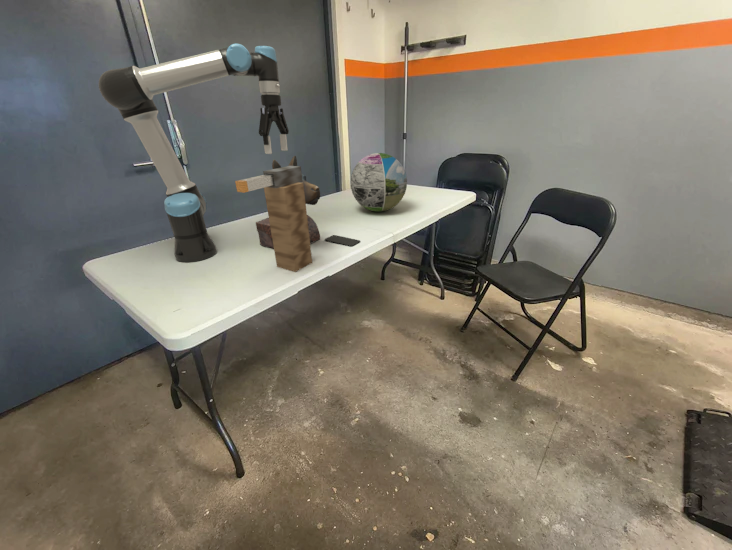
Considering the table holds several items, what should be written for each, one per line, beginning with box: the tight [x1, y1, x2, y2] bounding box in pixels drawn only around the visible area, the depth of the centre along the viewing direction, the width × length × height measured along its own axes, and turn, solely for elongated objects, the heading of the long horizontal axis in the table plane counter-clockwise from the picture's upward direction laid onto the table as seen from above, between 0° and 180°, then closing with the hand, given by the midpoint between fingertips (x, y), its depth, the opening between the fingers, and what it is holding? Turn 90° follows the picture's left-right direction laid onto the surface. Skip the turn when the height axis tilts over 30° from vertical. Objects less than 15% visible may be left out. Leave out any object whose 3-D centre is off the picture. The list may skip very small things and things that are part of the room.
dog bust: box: [255, 155, 321, 249], centre depth 130 cm, size 19×28×35 cm, turn 57°
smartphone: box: [323, 234, 361, 248], centre depth 140 cm, size 7×1×15 cm
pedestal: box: [262, 165, 313, 273], centre depth 113 cm, size 12×9×34 cm
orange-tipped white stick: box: [234, 174, 275, 193], centre depth 102 cm, size 23×3×3 cm, turn 148°
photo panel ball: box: [350, 152, 408, 213], centre depth 174 cm, size 30×30×30 cm
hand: (276, 152), depth 137 cm, fingers open, 13 cm apart
